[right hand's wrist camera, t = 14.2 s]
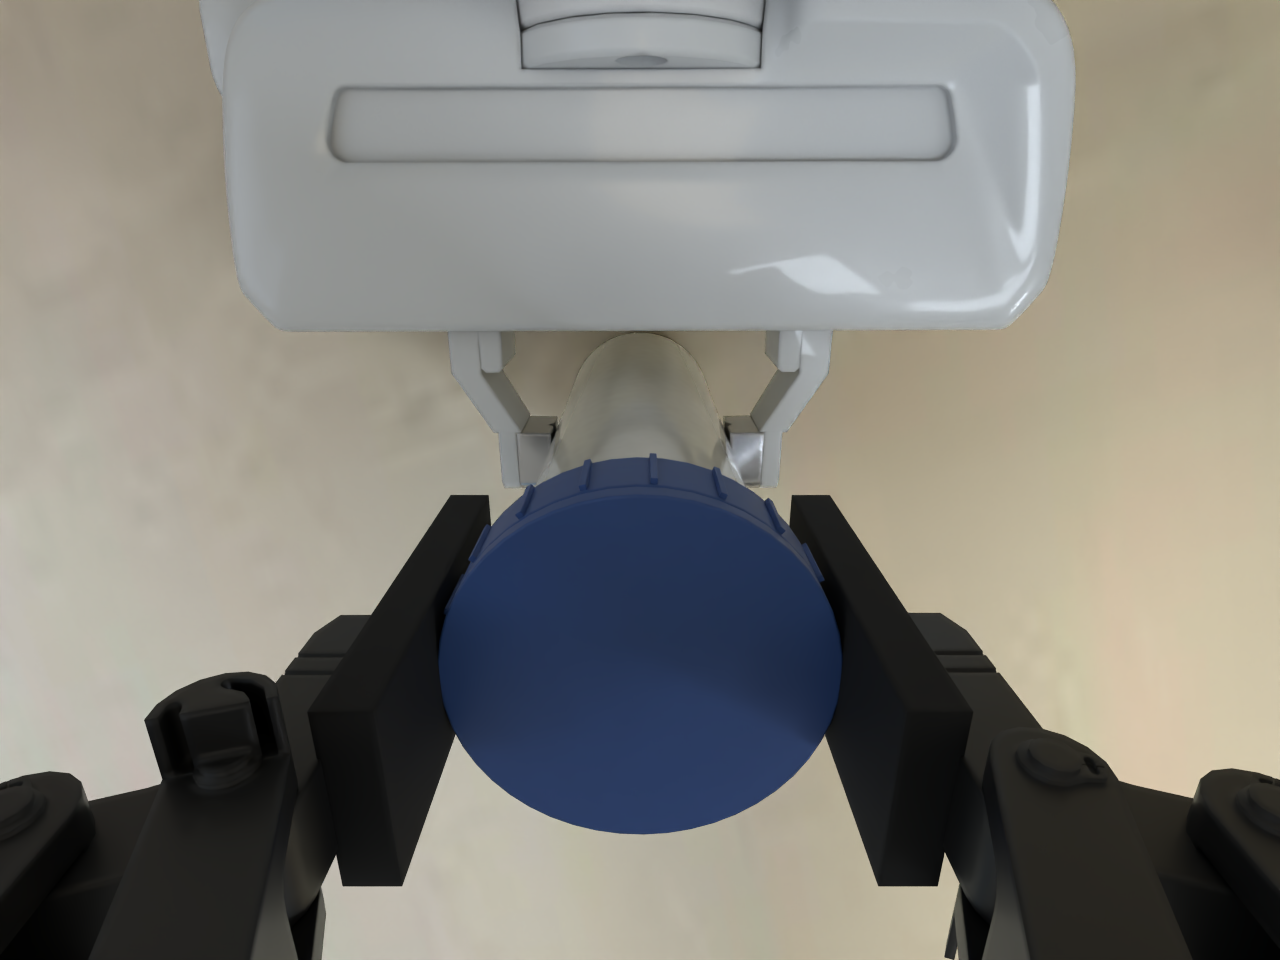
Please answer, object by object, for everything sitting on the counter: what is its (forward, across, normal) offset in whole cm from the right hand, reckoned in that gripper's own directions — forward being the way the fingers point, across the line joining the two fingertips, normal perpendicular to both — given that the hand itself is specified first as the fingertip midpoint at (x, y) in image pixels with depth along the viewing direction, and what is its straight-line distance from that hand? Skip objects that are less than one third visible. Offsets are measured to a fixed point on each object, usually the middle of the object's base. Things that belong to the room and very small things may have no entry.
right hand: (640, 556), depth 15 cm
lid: (-4, 0, 0) cm, 4 cm away
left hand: (+7, 0, -1) cm, 7 cm away
